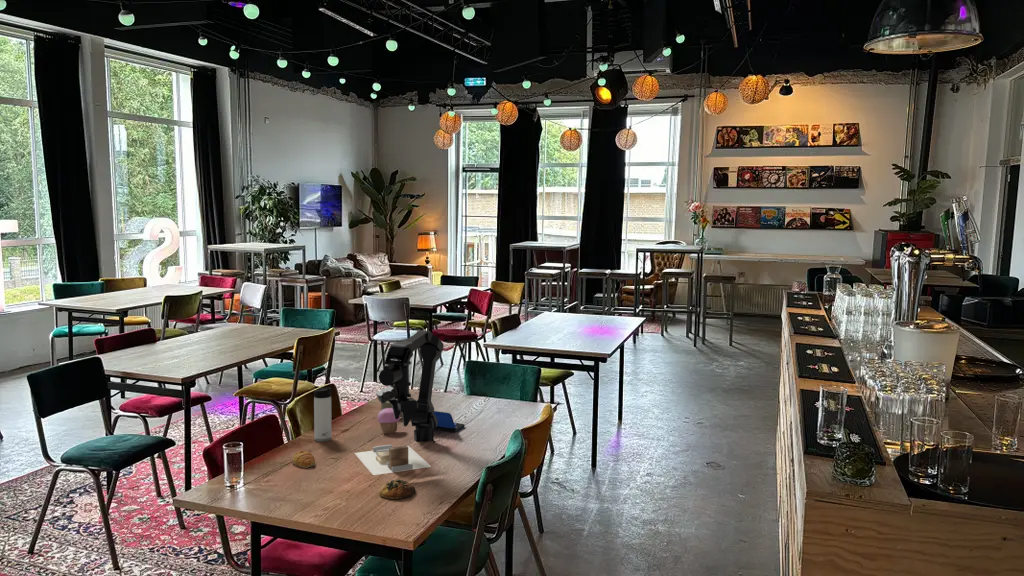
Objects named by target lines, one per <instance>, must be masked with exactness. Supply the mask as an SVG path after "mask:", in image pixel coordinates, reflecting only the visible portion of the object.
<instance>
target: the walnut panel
mask: <svg viewBox="0 0 1024 576" xmlns="http://www.w3.org/2000/svg"><path fill="white" fill-rule="evenodd" d="M407 446H408V445H400V446H392V448H389V469H390V470H391V467H393V466H400V465H406V464H408V447H407Z"/></svg>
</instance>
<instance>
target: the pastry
mask: <svg viewBox="0 0 1024 576" xmlns="http://www.w3.org/2000/svg"><path fill="white" fill-rule="evenodd" d="M291 461H292V463H293V464H294V465H295V466H297V467H299V468H305V469H306V468H309V467H314V466H315V464H316V459H315V456H314V455H313V454H312V452H309V451H306V450H298V451H297V452H295V454H293V456H292V460H291Z"/></svg>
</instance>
